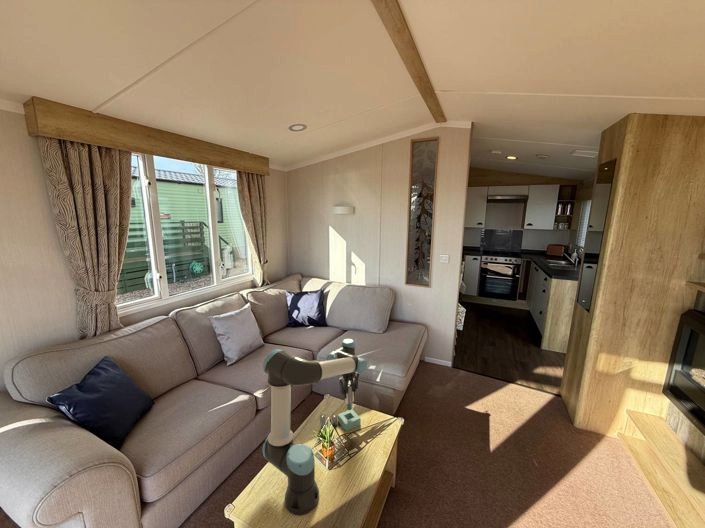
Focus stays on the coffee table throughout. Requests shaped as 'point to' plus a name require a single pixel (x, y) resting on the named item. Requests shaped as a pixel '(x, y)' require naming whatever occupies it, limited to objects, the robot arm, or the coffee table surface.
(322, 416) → the medium steel pin
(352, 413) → the teal collar block
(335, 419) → the short steel pin
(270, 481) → the coffee table surface
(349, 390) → the long steel pin
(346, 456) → the coffee table surface
